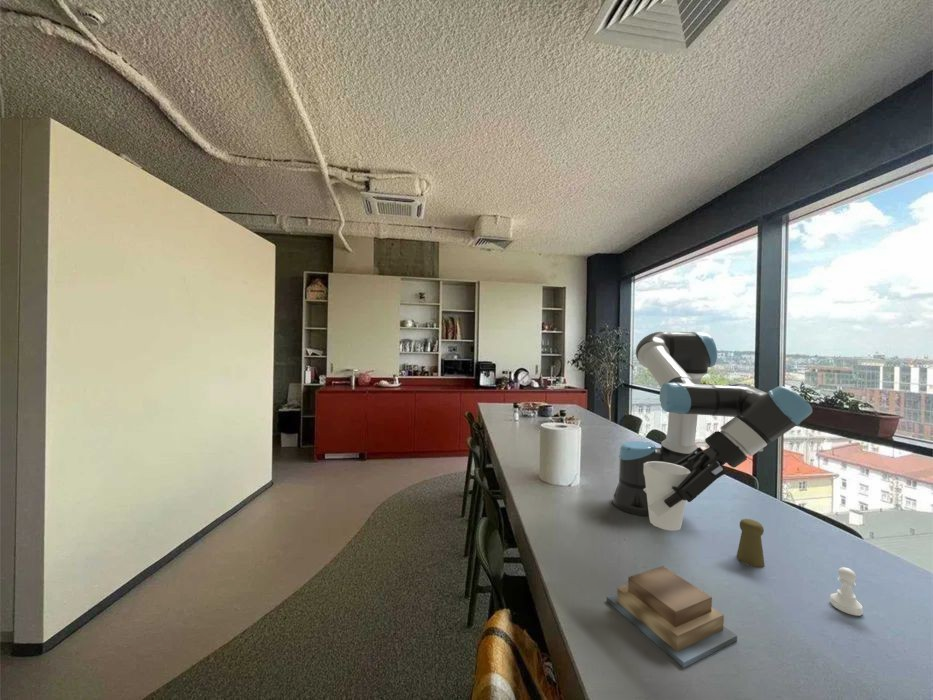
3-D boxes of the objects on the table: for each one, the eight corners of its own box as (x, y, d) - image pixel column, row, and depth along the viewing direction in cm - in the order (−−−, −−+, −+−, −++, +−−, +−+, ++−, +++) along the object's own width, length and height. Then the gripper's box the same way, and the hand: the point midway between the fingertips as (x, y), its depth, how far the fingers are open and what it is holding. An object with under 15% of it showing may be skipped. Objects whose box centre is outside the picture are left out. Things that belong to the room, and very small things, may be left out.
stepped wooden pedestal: (606, 601, 80) (607, 570, 80) (655, 583, 86) (656, 555, 86) (683, 668, 63) (685, 629, 63) (737, 640, 70) (738, 605, 70)
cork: (758, 557, 99) (759, 518, 99) (769, 569, 93) (770, 528, 93) (733, 552, 101) (734, 514, 101) (741, 564, 95) (743, 524, 95)
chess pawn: (825, 597, 83) (826, 559, 83) (853, 603, 81) (854, 565, 81) (838, 612, 78) (839, 572, 78) (868, 619, 77) (870, 578, 77)
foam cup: (634, 514, 86) (635, 461, 86) (670, 514, 86) (671, 461, 86) (658, 534, 76) (660, 474, 76) (698, 534, 77) (700, 474, 77)
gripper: (771, 472, 65) (671, 539, 71) (730, 444, 86) (655, 497, 92) (737, 441, 67) (643, 508, 73) (705, 421, 88) (633, 474, 94)
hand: (650, 502), depth 82 cm, fingers closed on foam cup, 9 cm apart
